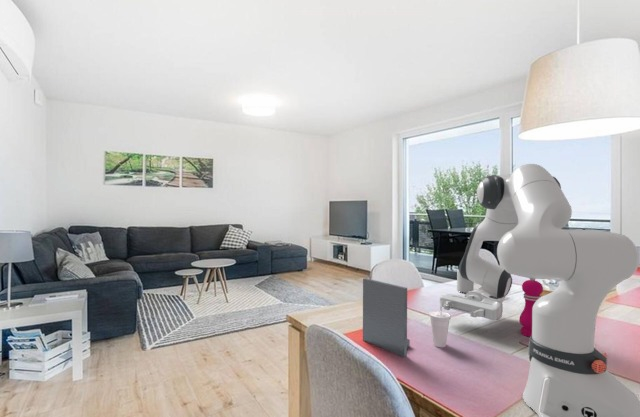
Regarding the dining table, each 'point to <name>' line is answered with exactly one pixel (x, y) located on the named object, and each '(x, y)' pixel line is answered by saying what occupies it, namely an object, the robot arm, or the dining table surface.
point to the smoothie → (439, 326)
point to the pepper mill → (529, 304)
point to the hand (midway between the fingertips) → (458, 310)
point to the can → (464, 284)
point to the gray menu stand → (385, 316)
